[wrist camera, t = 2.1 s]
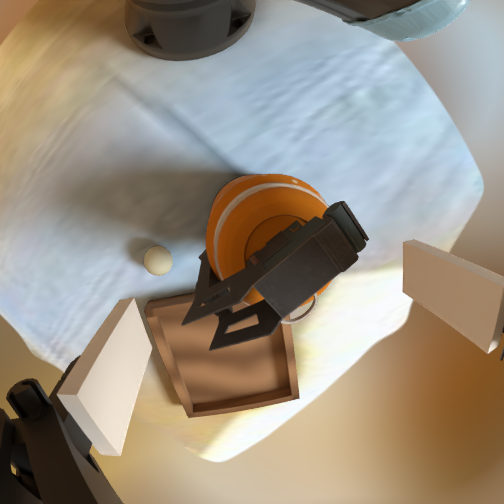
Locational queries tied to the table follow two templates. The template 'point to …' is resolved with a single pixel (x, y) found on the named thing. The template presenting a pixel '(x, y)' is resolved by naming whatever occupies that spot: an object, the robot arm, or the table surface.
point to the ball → (158, 260)
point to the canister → (270, 254)
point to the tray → (221, 361)
